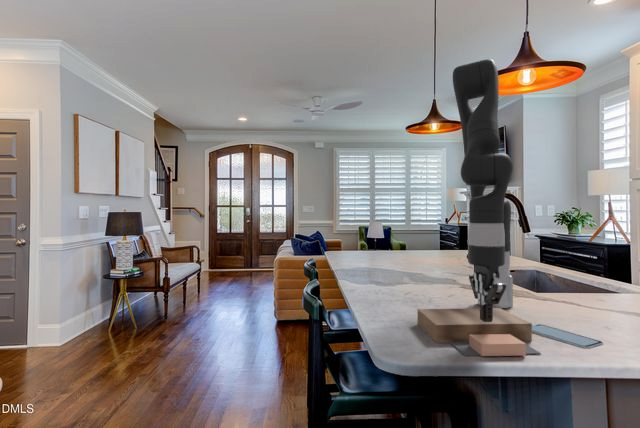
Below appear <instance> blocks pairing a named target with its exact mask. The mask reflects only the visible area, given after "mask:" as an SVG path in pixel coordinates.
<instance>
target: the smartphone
mask: <svg viewBox="0 0 640 428" xmlns="http://www.w3.org/2000/svg"><path fill="white" fill-rule="evenodd" d="M534 333H535V334H534ZM532 334H534V335H537V334H538V336H541V337H545V338H548V339H551V340H555V341H557V340H558V341H557V342H560V343H561V342H562V343H564V344H567V343H568V345H571V346H575V347H578V348H581V349H586V348H588V349H592V348H595V347H599V346H603V345H604V342H603V341H601V340H599V339H594V338H591V337H587V336H584V335H581V334H577V333H574V332H570V331H567V330H563V329H560V328H555V327H554V326H553V327H552V326H550V325H545V324H540V323H538V324H534V325H533V324H532Z"/></svg>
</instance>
